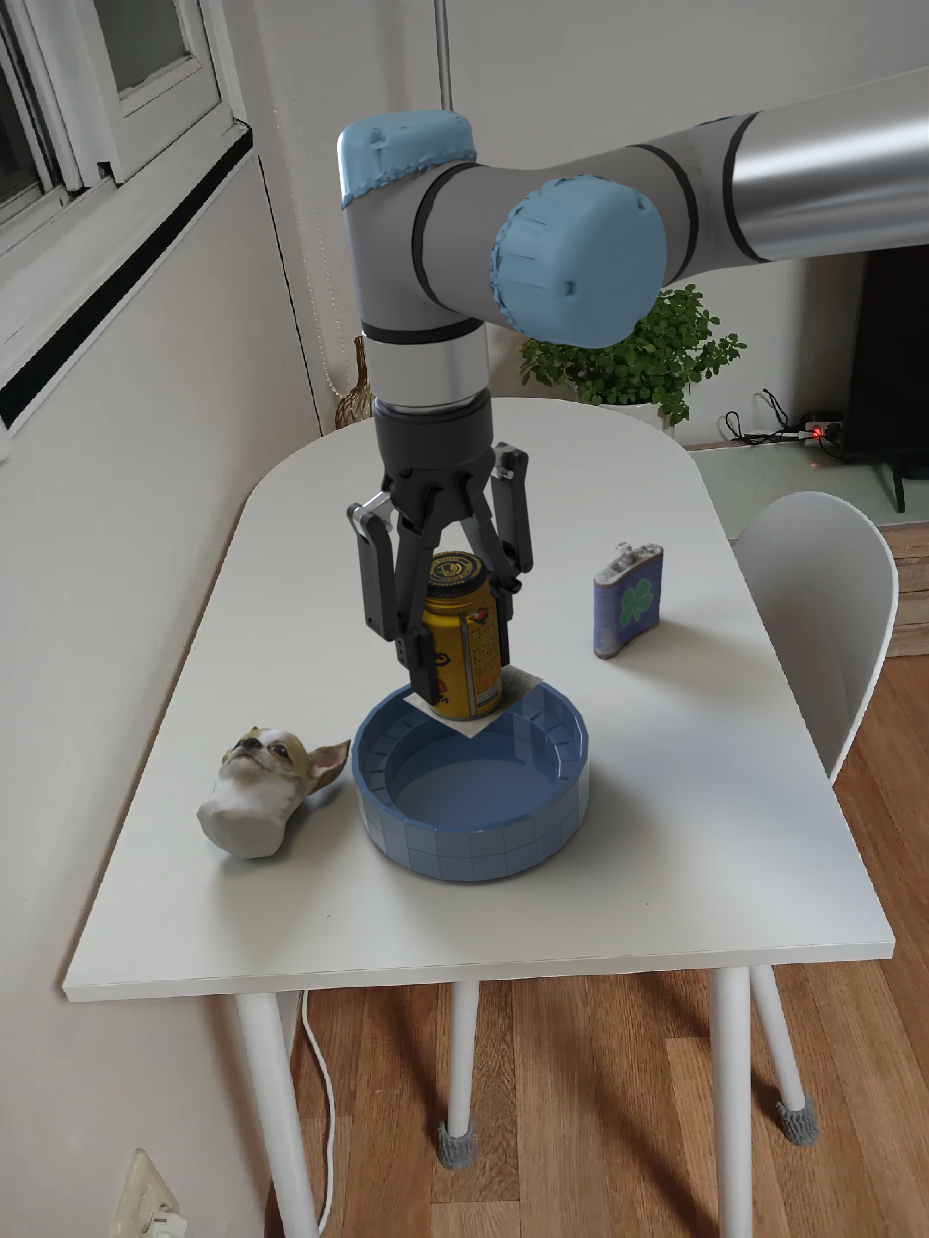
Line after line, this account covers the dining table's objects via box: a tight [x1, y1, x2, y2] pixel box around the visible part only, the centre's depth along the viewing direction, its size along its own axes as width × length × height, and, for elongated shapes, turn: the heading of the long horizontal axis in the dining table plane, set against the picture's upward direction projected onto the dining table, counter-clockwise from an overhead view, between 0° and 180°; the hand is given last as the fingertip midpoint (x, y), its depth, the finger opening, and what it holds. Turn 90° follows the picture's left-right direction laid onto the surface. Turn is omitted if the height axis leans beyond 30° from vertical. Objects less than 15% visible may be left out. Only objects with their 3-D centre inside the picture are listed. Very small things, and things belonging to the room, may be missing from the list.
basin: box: [350, 680, 590, 882], centre depth 79 cm, size 19×19×6 cm
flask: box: [593, 540, 665, 660], centre depth 94 cm, size 9×3×11 cm, turn 133°
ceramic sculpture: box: [195, 725, 352, 860], centre depth 79 cm, size 11×9×15 cm
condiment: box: [404, 550, 545, 739], centre depth 71 cm, size 7×8×12 cm
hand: (461, 675), depth 73 cm, fingers closed on condiment, 6 cm apart
